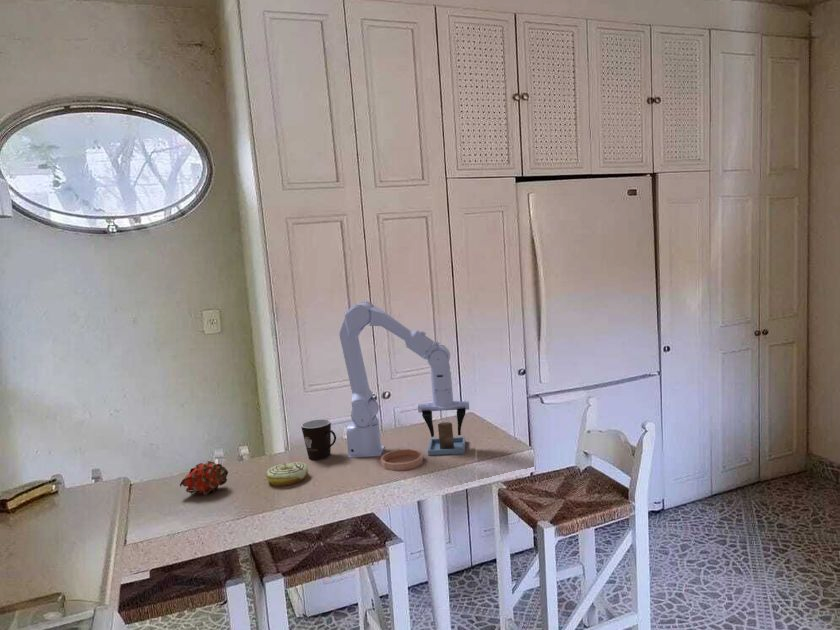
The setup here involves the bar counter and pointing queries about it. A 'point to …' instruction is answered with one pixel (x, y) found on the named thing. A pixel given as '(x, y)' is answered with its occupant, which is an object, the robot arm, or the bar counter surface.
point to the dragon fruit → (205, 478)
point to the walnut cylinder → (446, 435)
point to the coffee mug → (318, 438)
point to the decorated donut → (287, 473)
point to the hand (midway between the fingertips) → (445, 434)
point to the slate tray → (458, 449)
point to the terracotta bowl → (401, 459)
